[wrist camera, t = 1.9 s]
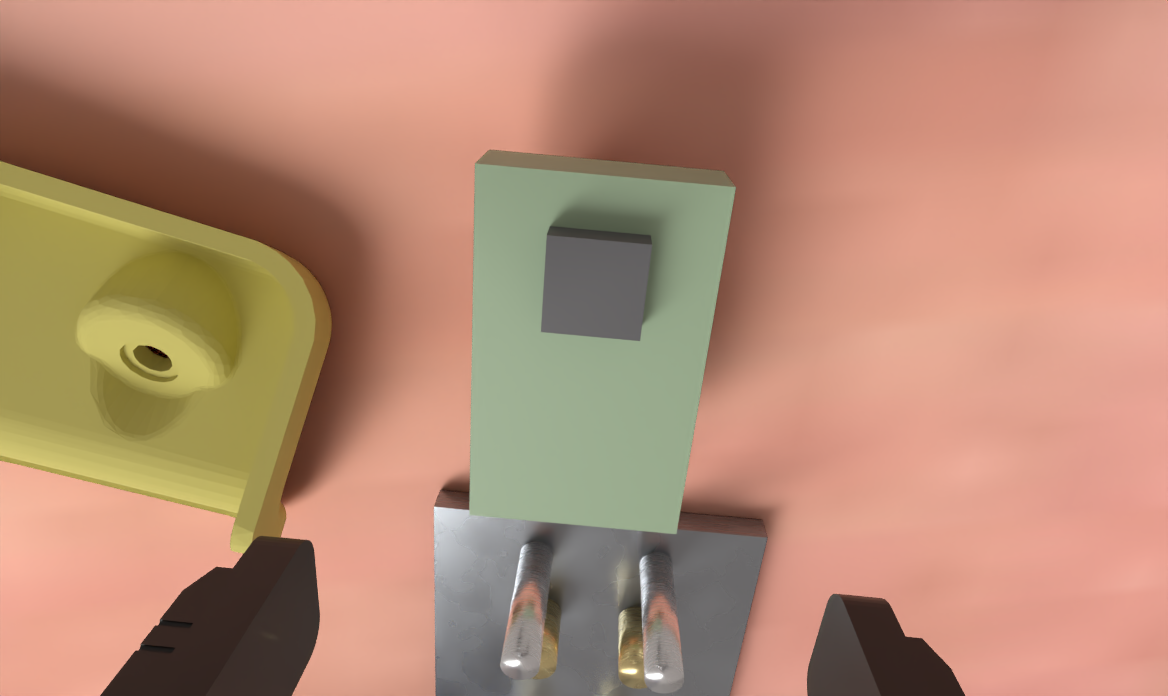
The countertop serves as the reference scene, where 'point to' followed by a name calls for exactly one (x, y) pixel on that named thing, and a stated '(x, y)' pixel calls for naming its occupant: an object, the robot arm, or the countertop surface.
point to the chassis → (590, 605)
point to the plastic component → (134, 373)
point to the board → (590, 335)
